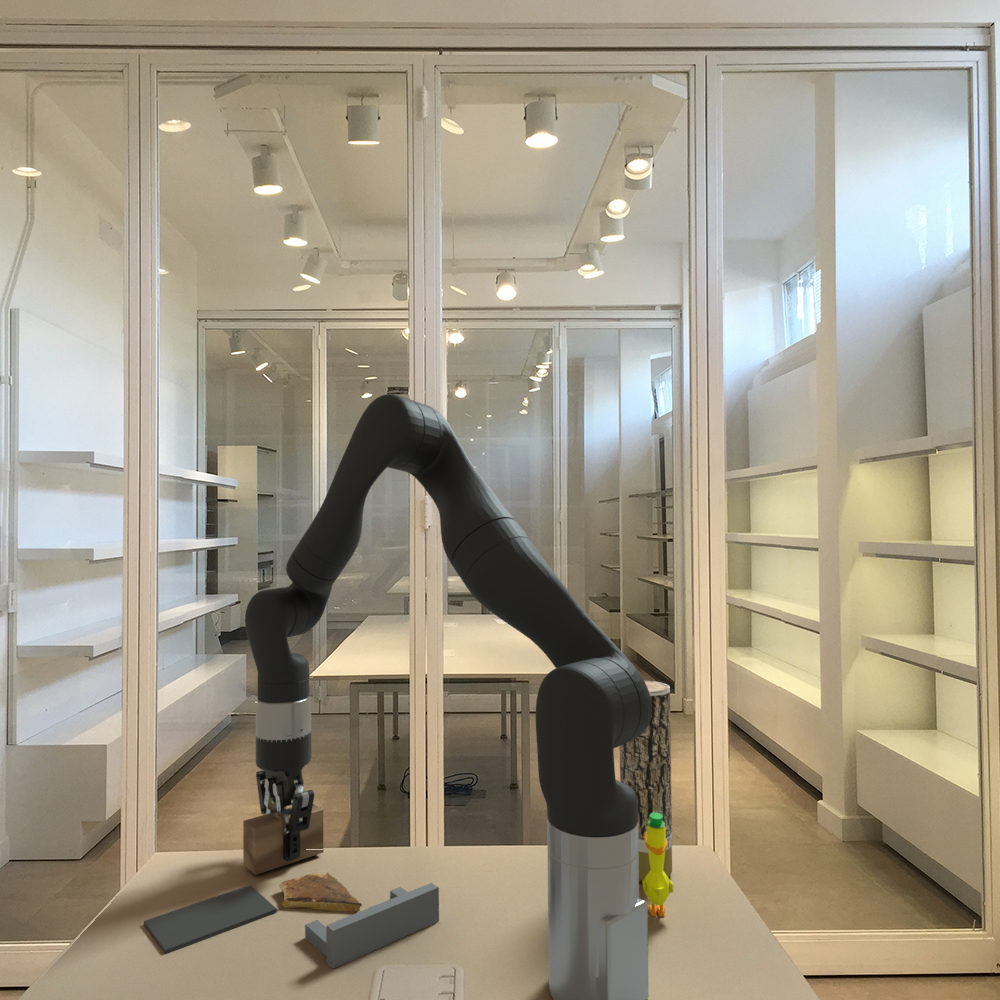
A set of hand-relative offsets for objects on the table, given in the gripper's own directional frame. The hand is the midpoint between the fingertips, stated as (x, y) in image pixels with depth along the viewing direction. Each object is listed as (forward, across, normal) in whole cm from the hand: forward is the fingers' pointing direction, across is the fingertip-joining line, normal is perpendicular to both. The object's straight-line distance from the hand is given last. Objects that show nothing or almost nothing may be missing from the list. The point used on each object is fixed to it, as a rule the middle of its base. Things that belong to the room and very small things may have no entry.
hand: (284, 852), depth 105 cm
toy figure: (+2, -43, -28) cm, 51 cm away
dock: (+1, -23, 0) cm, 23 cm away
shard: (+2, -12, 0) cm, 12 cm away
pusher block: (+1, 0, 0) cm, 1 cm away
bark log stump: (+2, -36, -35) cm, 50 cm away
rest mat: (+1, -8, +13) cm, 15 cm away
